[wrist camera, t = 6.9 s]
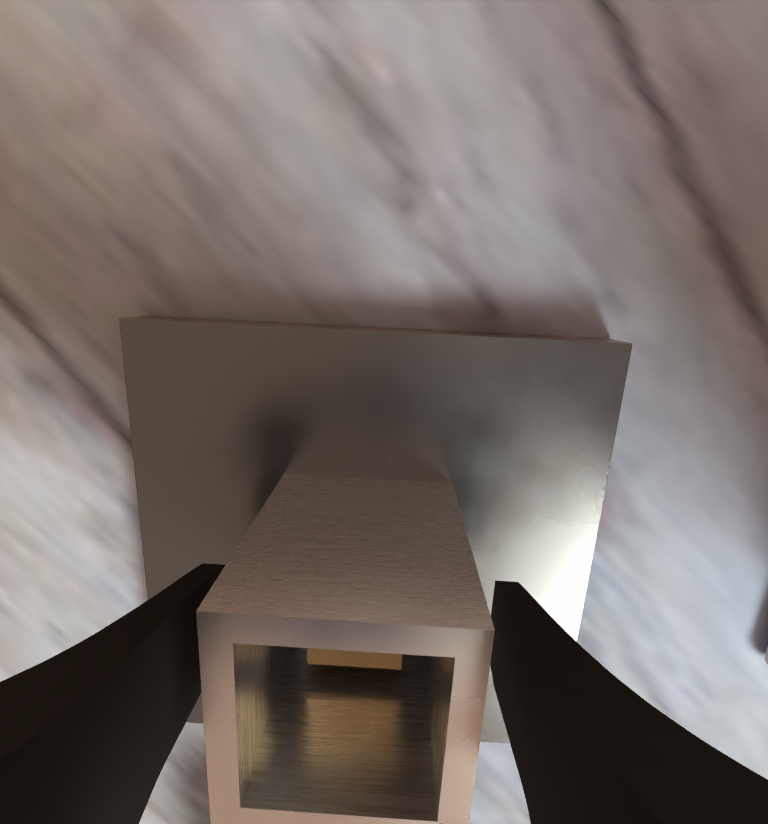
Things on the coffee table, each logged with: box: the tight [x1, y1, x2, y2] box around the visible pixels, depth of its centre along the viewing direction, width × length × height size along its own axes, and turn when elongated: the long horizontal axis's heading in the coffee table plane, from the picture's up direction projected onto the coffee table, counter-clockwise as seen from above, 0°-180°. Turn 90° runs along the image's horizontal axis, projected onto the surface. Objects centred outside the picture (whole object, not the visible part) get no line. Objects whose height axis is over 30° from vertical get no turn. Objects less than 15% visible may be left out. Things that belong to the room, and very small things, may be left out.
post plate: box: [119, 316, 632, 743], centre depth 13 cm, size 14×14×4 cm
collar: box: [196, 473, 495, 824], centre depth 11 cm, size 5×5×6 cm
